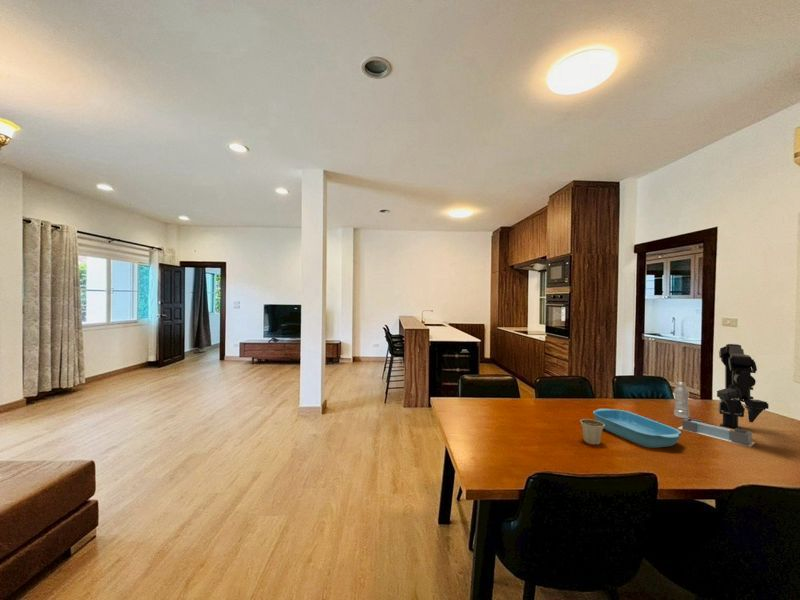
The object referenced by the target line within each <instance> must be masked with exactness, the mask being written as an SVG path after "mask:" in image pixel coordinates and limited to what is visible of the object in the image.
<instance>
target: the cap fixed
mask: <svg viewBox="0 0 800 600" xmlns="http://www.w3.org/2000/svg"><path fill="white" fill-rule="evenodd" d="M691 421H696V422H701V423H702V420H700V419H696V418H691V417H689V418H686V419H682V423H681V424H682V425H681V426H682V429H683V431H686V430H687V432H690V431H691V433H694V432H695V433H694V434H698V433H697V423H695V422H691ZM682 429H681V430H682Z"/></svg>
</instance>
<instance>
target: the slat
mask: <svg viewBox="0 0 800 600" xmlns="http://www.w3.org/2000/svg"><path fill="white" fill-rule="evenodd" d="M691 422H695V423H697V432H700V433H704V434H708V435H712V436H716V437H720V438H723V439H727V440H730V439H731V431H732V428H730V429H729V428H727V427H723V426H717V425H712V424H709V423H703V422H702V421H701V422H696V421H691Z"/></svg>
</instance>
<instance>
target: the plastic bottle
mask: <svg viewBox="0 0 800 600" xmlns="http://www.w3.org/2000/svg"><path fill="white" fill-rule="evenodd" d="M686 386H687V382H686V381H682V380H680V381H679V380H678V381H677V382H676V387H675V388H674V389H673V394H674V400H675V404H674V410H673V415H674V417H676V418H679V419H682V420H684V419H686V418H691V416H690V415H691V414H690V410H689V409H690V408H689V398H690V391H689V389H688V388H687V387H686Z"/></svg>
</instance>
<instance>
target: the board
mask: <svg viewBox="0 0 800 600" xmlns="http://www.w3.org/2000/svg"><path fill="white" fill-rule="evenodd" d="M677 430H683V429H682V425H681V426H678V427H677ZM683 431H684V430H683ZM685 431H687V430H685ZM687 432H688V431H687ZM689 432H691V431H689ZM691 433H692V432H691ZM693 433H694V434H700V435H702V436H707V437H710V438H714V439H718V440H722V441H727V442H730V443H734V444H738V445H741V446H745V447H749V448H751V447H752V446H753V445H754V444H755V443H756V442H755V441H752V442H751V443H750V444H749V445H744V444H740V443H736V442H732V441H731V439H730V440H727V439H723V438H720V437H716V436H712V435H708V434H704V433H700V432H697V433H695V432H693Z"/></svg>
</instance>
